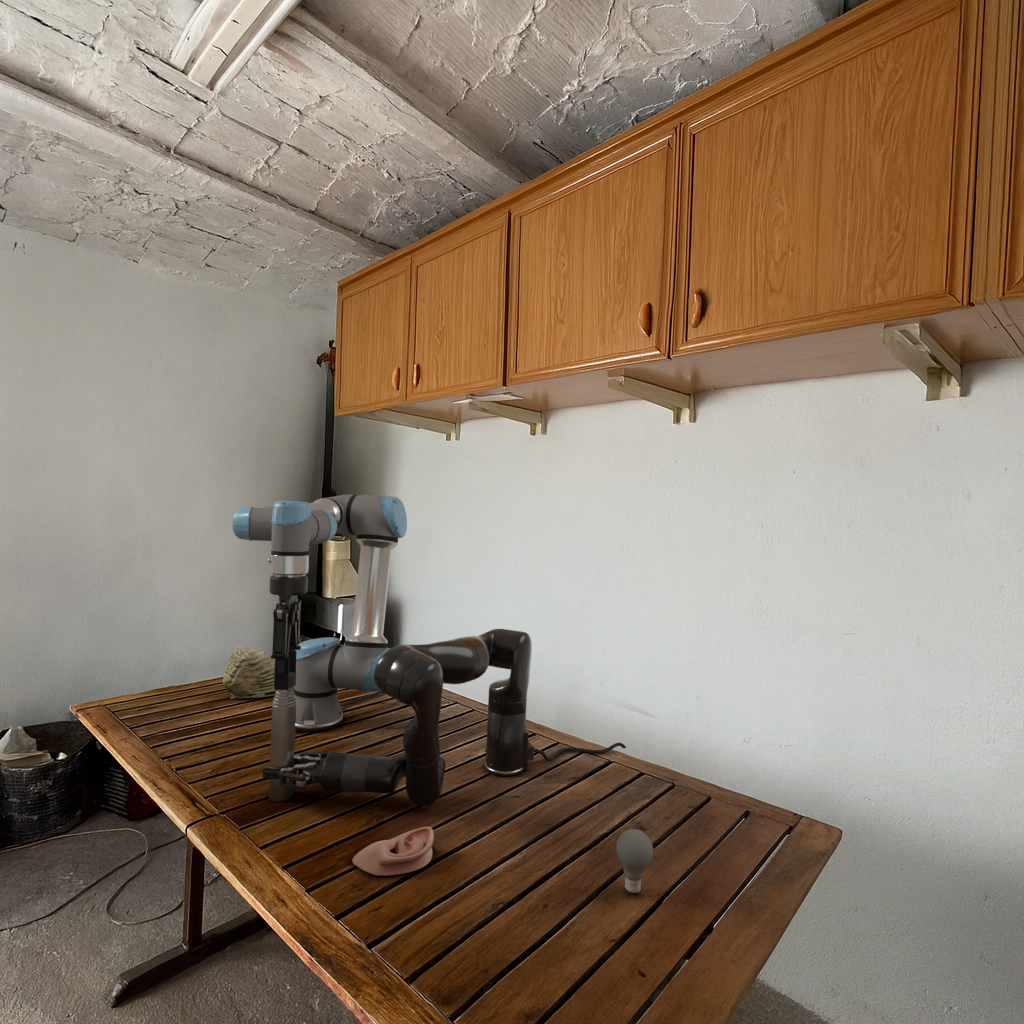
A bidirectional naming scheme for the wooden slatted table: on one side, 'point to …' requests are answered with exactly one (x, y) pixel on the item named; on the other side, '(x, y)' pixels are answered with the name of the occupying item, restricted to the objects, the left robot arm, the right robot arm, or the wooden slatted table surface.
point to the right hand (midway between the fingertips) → (269, 767)
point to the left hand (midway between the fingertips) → (285, 685)
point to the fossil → (249, 674)
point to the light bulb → (634, 857)
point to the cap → (292, 679)
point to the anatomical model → (397, 853)
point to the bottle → (282, 740)
